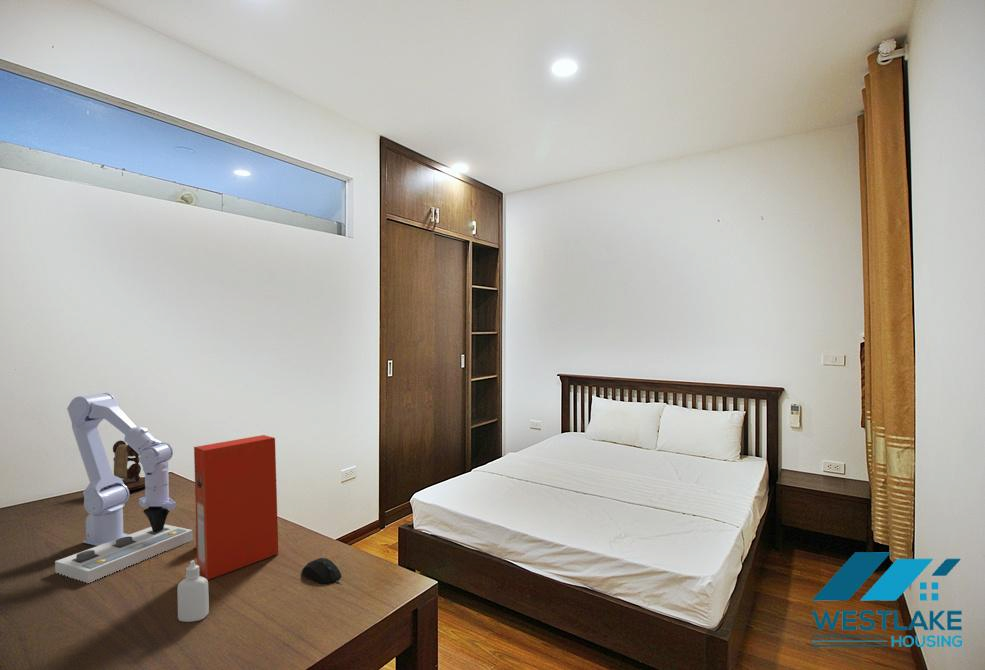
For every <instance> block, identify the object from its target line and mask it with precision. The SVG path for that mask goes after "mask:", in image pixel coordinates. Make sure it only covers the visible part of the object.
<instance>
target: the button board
mask: <svg viewBox="0 0 985 670" xmlns="http://www.w3.org/2000/svg"><path fill="white" fill-rule="evenodd" d="M164 528H165V531H164V532H161V533H159V534H156V535H153V534H151V531H153V530H152V527H151V526H150V527H146V528H144V529H141V530H138V531H136V532H132V533H128V534H129V535H127V536H124V537H129V536H130V537H132V544H130V545H127V546H124V547H122V548H118V547H116V540H118V539H120V538H118V539H116V540H113V541H110V542H107V543H104V544H102V545H99V546H93V547H91V548H88V549H85V550H83V551H80V552H77V553H74V554H72V555H68V556H67V557H64V558H61V559H60V558H59V559H57V560H55V561H54V569H55V572H56V573H55V572H54V573H55V574H57V573H59V574H58V575H61V574H62V575H61V576H64V575H65V576H64V577H67V576H68V577H67V578H71V579H73V578H74V580H76V579H77V581H79V580H80V581H79V582H82V581H83V583H85V582H86V584H88V583H89V584H91V583H94V582H95V580H96V581H98V580H100V578H101V579H103V578H105V577H104V576H106V577H107V575H108V576H110V575H113V574H115V573H117V572H116V571H118V572H120V571H122V570H124V568H125V569H127V568H129V567H128V566H130V567H132V566H134V565H136V563H137V564H138V563H141V561H142V562H144V561H146V560H149V559H151V558H154V557H156V556H158V555H160V553H161V554H163V553H165V552H164V551H166V552H168V551H170V550H173V549H175V548H177V547H179V546H182V545H184V544H187V543H190V542H192V541H194V539H193V529H190V528H184V527H180V526H175V525H170V524H166V523H165V524H164ZM121 538H123V537H121ZM88 550H94V551H95V558H92V559H90V560H87V561H85V562H82V563H78V562H77V558H76V555H77V554H79V553H81V552H84V551H88ZM162 552H163V553H162ZM157 554H158V555H157ZM155 555H156V556H155ZM153 556H154V557H153ZM150 557H151V558H150ZM148 558H149V559H148ZM145 559H146V560H145ZM143 560H144V561H143ZM133 564H134V565H133ZM131 565H132V566H131ZM126 567H127V568H126ZM119 570H120V571H119ZM114 572H115V573H114ZM112 573H113V574H112ZM109 574H110V575H109ZM102 577H103V578H102ZM97 579H98V580H97ZM93 581H94V582H93ZM90 582H91V583H90Z"/></svg>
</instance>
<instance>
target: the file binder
mask: <svg viewBox="0 0 985 670" xmlns="http://www.w3.org/2000/svg"><path fill="white" fill-rule="evenodd" d="M276 455H277V454H276V437H273V436H269V435H266V434H265V435H264V434H262V435H256V436H250V437H246V438H244V437H243V438H237V439H233V440H227V441H221V442H216V443H215V442H214V443H210V444H209V443H208V444H204V445H197V446H193V457H194V458H193V459H194V461H193V463H194V495H195V498H194V499H195V500H194V501H195V537H196V536H197V548H196V561H197V562H196V565H199V575H200V576H201V577H204V578H206V579H207V580H211V579H214V578H216V577H220V576H222V575H224V574H227V573H230V572H233V571H235V570H239V569H240V568H244V567H247V566H249V565H252V564H255V563H257V561H258V562H260V561H262V560H265V559H268V558H271V557H274V556H276V555H278V554H279V533H278V532H279V531H278V529H279V528H278V527H279V526H278V497H277V496H278V494H277V462H276V461H277V459H276V458H277V457H276ZM273 555H274V556H273Z"/></svg>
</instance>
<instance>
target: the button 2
mask: <svg viewBox="0 0 985 670" xmlns="http://www.w3.org/2000/svg"><path fill="white" fill-rule="evenodd" d="M164 531H165V528H163V530H161V531H159V532H153V531H151V534H153V535H156V534H159V533H161V532H164Z"/></svg>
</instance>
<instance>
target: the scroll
mask: <svg viewBox="0 0 985 670" xmlns="http://www.w3.org/2000/svg"><path fill="white" fill-rule="evenodd" d="M112 452H113V453H114V457H113V459H112V460H113V475H114V476H116V477H119V478H121V479H122V481H123V483H124V485H125V486H126V487H127V488H128V490H129V491H133V490H138V489H140V488H145V476H144V477H143V476H140V474H141V470H142V465H140V461H139V457H140V455H139V454H138V453H137V452H136V451H135V450H134V449H133V448H131V447H130V446H129V445H128V444H127V443H126V442H125V440H117V441H115V443H114V444H113V445H112ZM129 462H134V463H132V464H131V465H130V466H129V467H128V463H129ZM106 488H107V487H104V488H103V489H106Z"/></svg>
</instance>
